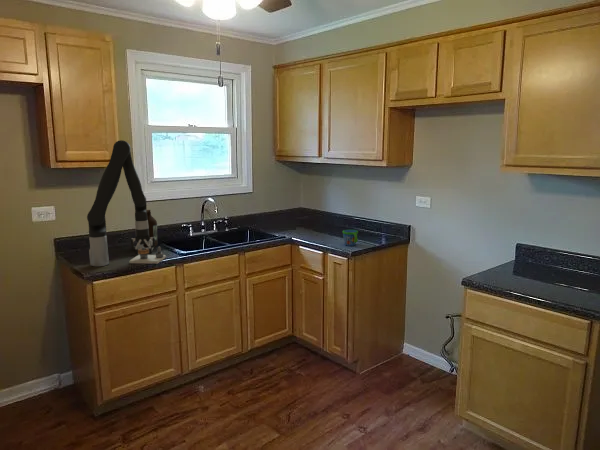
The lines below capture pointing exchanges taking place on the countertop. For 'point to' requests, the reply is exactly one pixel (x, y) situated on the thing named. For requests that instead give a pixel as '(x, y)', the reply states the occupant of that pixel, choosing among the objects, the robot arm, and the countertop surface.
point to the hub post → (159, 253)
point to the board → (149, 260)
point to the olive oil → (152, 227)
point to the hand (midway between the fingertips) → (143, 254)
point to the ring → (143, 251)
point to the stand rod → (143, 255)
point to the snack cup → (350, 237)
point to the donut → (143, 244)
